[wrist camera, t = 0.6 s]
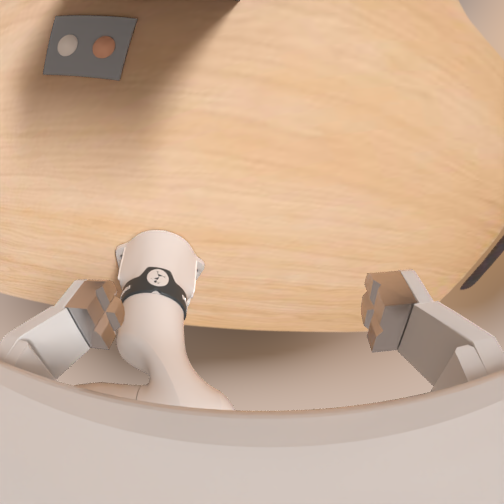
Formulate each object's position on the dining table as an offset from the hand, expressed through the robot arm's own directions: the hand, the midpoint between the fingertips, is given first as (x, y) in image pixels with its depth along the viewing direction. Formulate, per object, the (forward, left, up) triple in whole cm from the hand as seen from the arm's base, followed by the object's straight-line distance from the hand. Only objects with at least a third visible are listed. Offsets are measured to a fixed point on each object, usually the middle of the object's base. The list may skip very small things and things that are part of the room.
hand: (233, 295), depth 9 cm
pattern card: (+3, +21, -38) cm, 44 cm away
